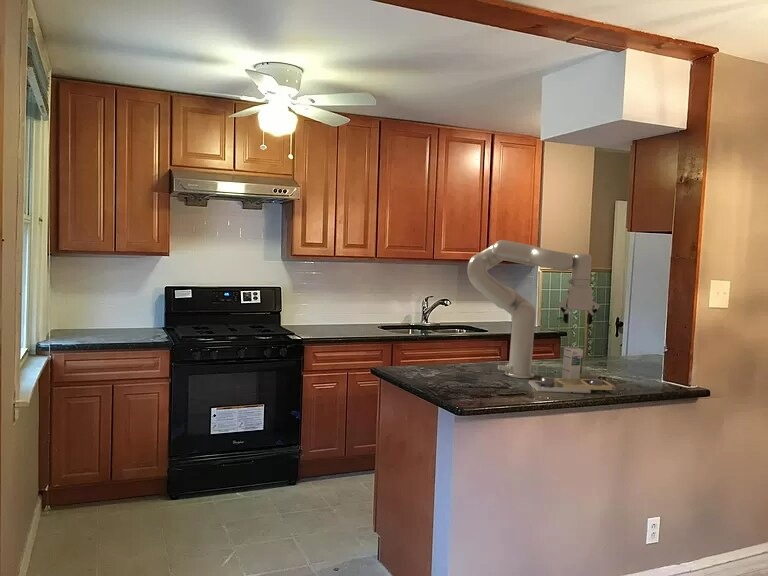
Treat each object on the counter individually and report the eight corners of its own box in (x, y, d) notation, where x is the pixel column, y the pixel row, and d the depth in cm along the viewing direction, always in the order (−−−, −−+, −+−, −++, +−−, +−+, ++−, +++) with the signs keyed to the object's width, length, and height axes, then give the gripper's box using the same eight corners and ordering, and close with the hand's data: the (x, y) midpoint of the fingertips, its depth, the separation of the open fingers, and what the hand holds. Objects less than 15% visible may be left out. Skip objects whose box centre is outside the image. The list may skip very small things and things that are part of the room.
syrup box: (569, 383, 258) (572, 349, 257) (561, 380, 264) (564, 346, 262) (581, 383, 260) (583, 349, 258) (572, 379, 265) (575, 346, 264)
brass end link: (562, 392, 242) (563, 382, 242) (552, 384, 254) (553, 375, 253) (615, 394, 244) (616, 384, 244) (602, 386, 255) (603, 377, 255)
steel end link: (537, 391, 241) (538, 381, 241) (528, 384, 253) (529, 374, 252) (590, 393, 243) (591, 383, 243) (579, 385, 254) (580, 376, 254)
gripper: (562, 283, 256) (559, 323, 257) (604, 284, 256) (600, 325, 257) (557, 281, 263) (554, 321, 265) (598, 283, 263) (595, 323, 265)
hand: (577, 323), depth 261 cm, fingers open, 9 cm apart
